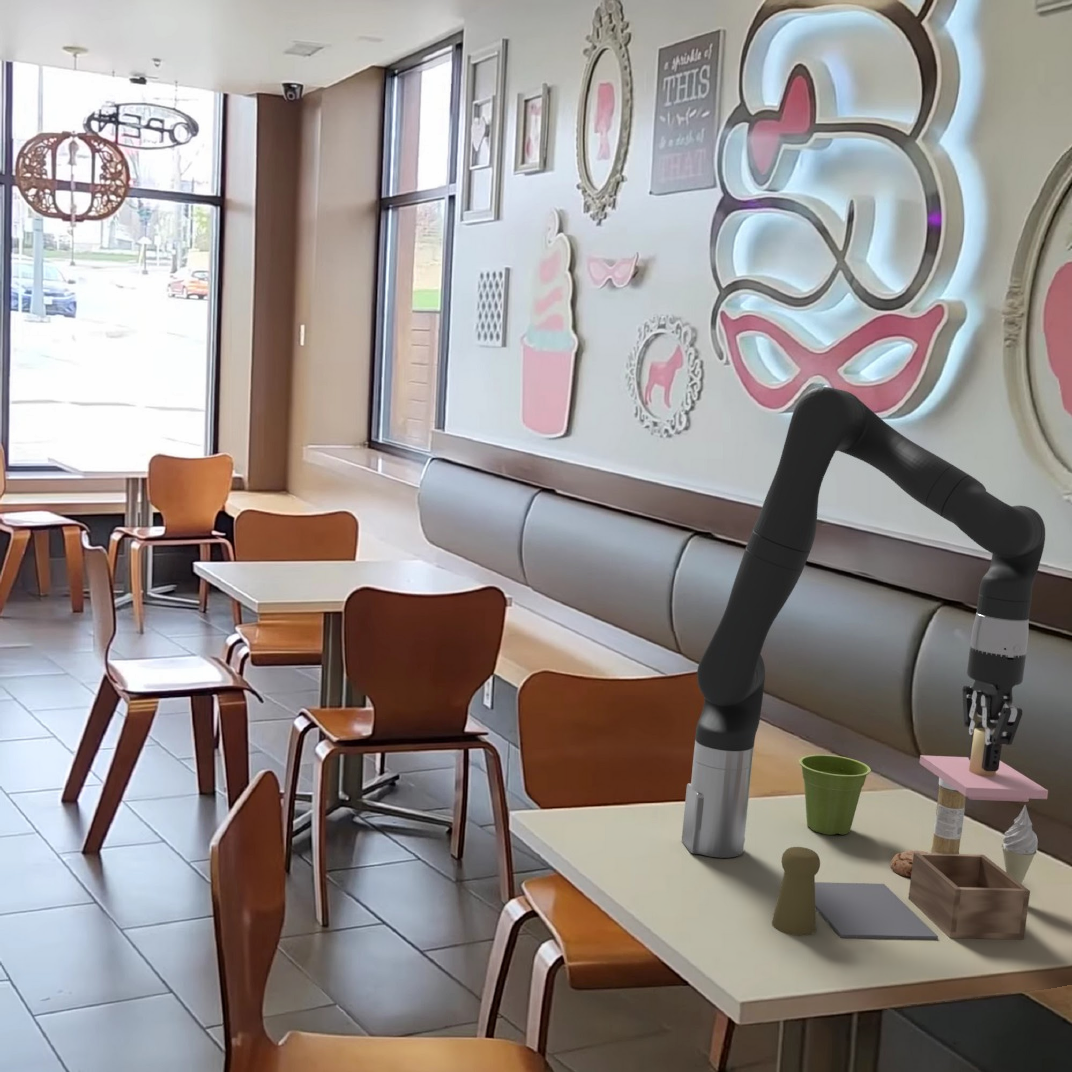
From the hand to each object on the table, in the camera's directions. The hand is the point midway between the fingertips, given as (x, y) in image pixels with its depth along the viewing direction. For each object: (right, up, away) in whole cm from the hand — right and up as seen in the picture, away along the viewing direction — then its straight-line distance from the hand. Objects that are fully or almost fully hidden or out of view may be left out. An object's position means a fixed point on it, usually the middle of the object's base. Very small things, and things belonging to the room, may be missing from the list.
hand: (983, 765), depth 197 cm
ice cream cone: (+8, -22, +11) cm, 26 cm away
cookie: (-2, -21, +21) cm, 29 cm away
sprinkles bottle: (+3, -20, +30) cm, 36 cm away
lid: (0, -3, 0) cm, 3 cm away
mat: (-16, -21, +3) cm, 27 cm away
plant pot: (-14, -17, +38) cm, 44 cm away
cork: (-28, -22, -5) cm, 36 cm away
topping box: (-2, -22, +3) cm, 23 cm away
